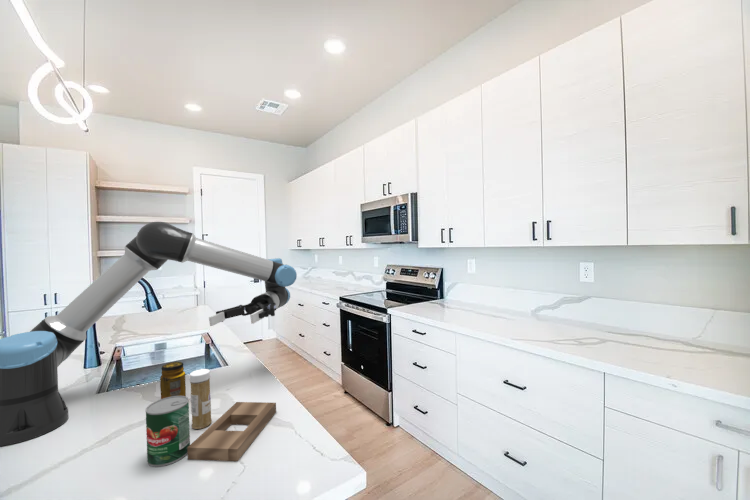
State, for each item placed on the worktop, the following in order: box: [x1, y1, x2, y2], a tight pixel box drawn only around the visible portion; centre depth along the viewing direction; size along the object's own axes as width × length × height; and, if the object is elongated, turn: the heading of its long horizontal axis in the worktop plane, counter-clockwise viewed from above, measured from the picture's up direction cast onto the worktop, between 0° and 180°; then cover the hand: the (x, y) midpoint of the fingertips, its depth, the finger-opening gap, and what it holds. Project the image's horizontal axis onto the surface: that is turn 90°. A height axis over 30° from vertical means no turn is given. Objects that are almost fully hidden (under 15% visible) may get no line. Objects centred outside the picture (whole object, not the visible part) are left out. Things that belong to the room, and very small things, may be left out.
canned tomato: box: [145, 395, 191, 468], centre depth 70 cm, size 8×8×11 cm
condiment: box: [159, 361, 191, 401], centre depth 91 cm, size 7×8×12 cm
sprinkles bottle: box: [189, 368, 213, 430], centre depth 82 cm, size 5×5×13 cm
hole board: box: [187, 401, 277, 462], centre depth 78 cm, size 11×20×2 cm, turn 174°
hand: (230, 320), depth 98 cm, fingers open, 13 cm apart
